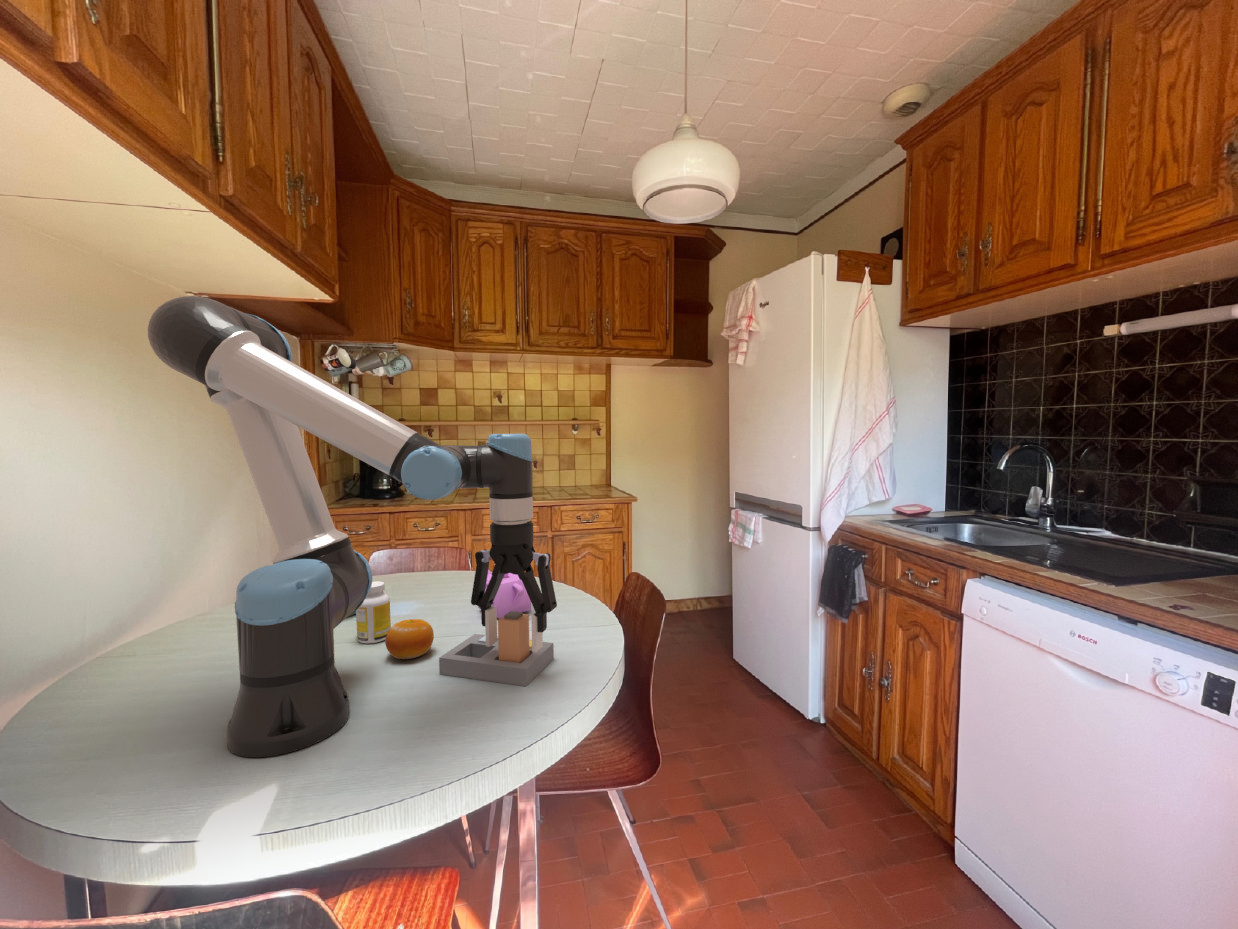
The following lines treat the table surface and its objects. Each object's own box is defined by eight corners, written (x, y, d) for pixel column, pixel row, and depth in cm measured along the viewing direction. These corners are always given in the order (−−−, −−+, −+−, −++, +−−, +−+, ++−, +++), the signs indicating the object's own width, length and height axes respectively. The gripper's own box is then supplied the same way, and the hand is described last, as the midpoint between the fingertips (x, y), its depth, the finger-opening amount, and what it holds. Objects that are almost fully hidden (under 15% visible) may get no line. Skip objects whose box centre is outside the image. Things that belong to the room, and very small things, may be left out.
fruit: (442, 626, 107) (420, 600, 103) (439, 657, 99) (415, 630, 95) (406, 645, 107) (382, 620, 103) (400, 677, 99) (373, 651, 95)
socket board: (526, 686, 88) (525, 666, 88) (439, 674, 93) (439, 655, 93) (553, 658, 99) (553, 640, 99) (475, 648, 104) (474, 632, 104)
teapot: (461, 608, 128) (460, 568, 128) (510, 596, 138) (510, 558, 137) (498, 628, 115) (497, 583, 115) (550, 613, 125) (549, 571, 124)
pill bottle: (397, 633, 113) (395, 580, 112) (380, 645, 106) (378, 589, 106) (368, 632, 113) (366, 579, 113) (350, 644, 107) (348, 588, 106)
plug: (519, 678, 91) (518, 618, 91) (499, 675, 92) (497, 616, 92) (529, 668, 95) (528, 611, 94) (510, 665, 96) (508, 609, 96)
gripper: (575, 519, 93) (577, 644, 94) (470, 515, 99) (473, 632, 100) (558, 526, 86) (560, 662, 87) (447, 521, 92) (450, 648, 93)
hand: (514, 646), depth 93 cm, fingers open, 8 cm apart
